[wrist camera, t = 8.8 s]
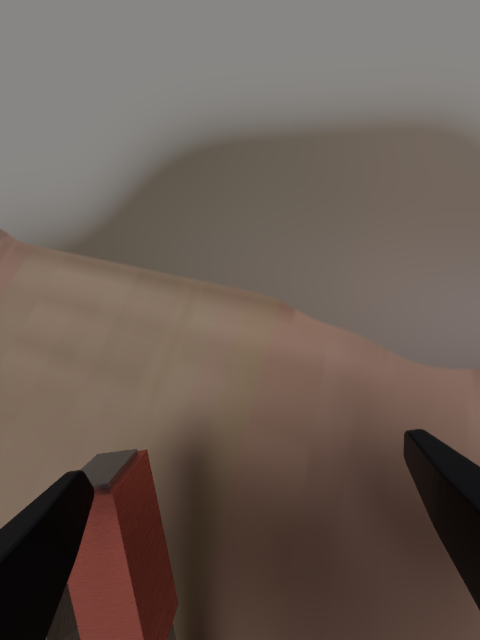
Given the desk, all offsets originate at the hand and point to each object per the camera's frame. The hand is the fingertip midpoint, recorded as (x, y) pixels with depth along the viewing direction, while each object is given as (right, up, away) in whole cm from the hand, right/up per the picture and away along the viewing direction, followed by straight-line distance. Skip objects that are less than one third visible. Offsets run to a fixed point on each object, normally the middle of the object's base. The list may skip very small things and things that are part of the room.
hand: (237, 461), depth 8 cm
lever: (-2, -14, +3) cm, 15 cm away
